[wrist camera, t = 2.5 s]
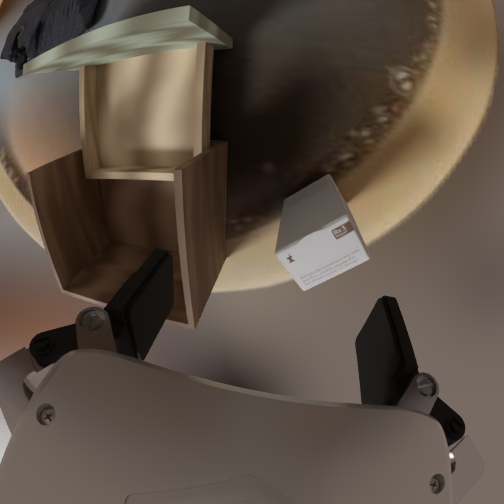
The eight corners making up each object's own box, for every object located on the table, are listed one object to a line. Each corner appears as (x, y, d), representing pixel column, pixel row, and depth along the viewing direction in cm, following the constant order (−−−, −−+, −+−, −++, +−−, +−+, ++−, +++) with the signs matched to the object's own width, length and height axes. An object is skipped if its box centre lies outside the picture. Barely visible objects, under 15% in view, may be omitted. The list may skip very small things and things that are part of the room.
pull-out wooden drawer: (232, 38, 21) (190, 5, 11) (226, 172, 29) (186, 216, 19) (94, 61, 23) (23, 64, 13) (98, 168, 31) (35, 203, 21)
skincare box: (303, 228, 31) (302, 297, 21) (281, 197, 29) (270, 255, 19) (349, 202, 28) (374, 264, 18) (329, 169, 27) (347, 214, 17)
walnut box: (228, 140, 27) (181, 170, 17) (225, 259, 35) (194, 329, 25) (96, 143, 29) (26, 173, 19) (111, 241, 37) (61, 292, 27)
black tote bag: (100, 44, 22) (75, 43, 18) (15, 80, 24) (-5, 84, 20) (116, -42, 14) (96, -50, 10) (25, 9, 16) (6, 9, 12)
